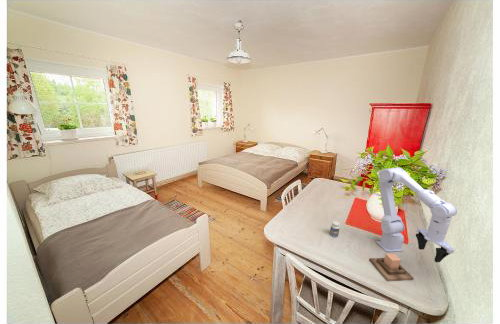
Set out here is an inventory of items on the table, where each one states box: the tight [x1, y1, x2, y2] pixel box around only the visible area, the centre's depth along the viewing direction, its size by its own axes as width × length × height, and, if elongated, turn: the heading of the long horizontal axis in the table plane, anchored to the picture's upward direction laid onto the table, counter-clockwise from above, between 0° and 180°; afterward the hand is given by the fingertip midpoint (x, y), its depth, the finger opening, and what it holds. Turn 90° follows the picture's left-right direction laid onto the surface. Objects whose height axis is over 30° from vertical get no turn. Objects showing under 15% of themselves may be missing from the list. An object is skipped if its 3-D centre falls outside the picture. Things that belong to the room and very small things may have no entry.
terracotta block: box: [384, 253, 402, 270], centre depth 89 cm, size 4×4×6 cm
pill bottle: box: [329, 220, 341, 238], centre depth 113 cm, size 5×5×8 cm
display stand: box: [368, 257, 414, 282], centre depth 89 cm, size 12×12×3 cm
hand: (428, 255), depth 86 cm, fingers open, 7 cm apart
